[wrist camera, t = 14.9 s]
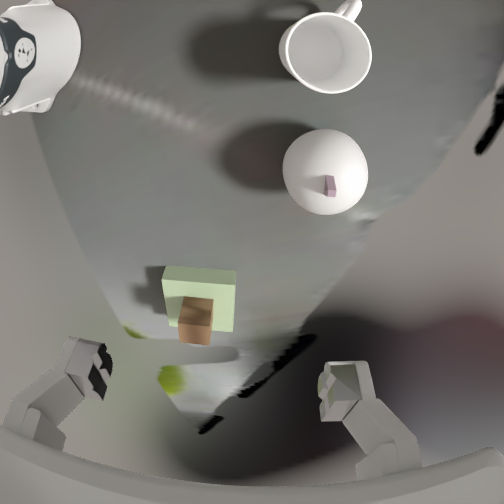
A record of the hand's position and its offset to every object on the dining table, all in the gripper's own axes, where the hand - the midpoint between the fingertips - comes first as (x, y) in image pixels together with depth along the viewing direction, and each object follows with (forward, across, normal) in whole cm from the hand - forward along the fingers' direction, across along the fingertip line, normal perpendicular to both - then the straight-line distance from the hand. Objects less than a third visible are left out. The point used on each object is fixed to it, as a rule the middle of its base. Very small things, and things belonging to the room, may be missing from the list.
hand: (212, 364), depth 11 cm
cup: (+34, -8, -12) cm, 37 cm away
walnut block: (+31, +6, +31) cm, 44 cm away
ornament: (+34, -10, +4) cm, 36 cm away
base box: (+35, +6, +31) cm, 47 cm away
